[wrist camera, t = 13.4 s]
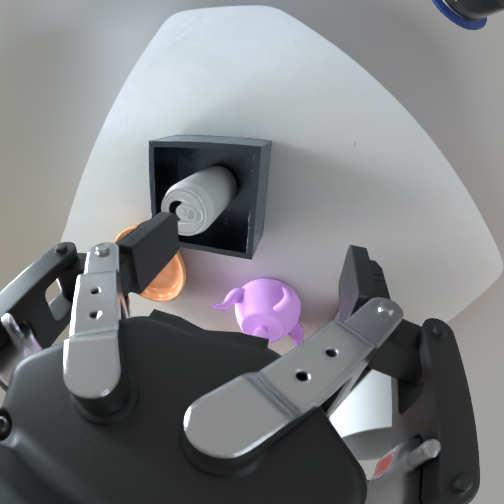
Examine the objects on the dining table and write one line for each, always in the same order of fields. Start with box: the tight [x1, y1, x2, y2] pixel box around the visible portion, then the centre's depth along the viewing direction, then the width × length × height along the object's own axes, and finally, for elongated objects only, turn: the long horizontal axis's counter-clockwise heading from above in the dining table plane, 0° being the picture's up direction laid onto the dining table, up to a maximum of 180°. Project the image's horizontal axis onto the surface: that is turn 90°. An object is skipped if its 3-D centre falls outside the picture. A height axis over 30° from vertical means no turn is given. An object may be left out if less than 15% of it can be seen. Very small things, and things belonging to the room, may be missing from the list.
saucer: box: [115, 226, 186, 302], centre depth 49 cm, size 16×16×3 cm
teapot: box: [212, 278, 304, 347], centre depth 45 cm, size 12×14×9 cm
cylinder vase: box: [330, 311, 392, 461], centre depth 36 cm, size 12×12×25 cm
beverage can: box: [161, 165, 237, 236], centre depth 35 cm, size 6×6×12 cm
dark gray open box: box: [149, 135, 272, 260], centre depth 37 cm, size 15×15×8 cm
